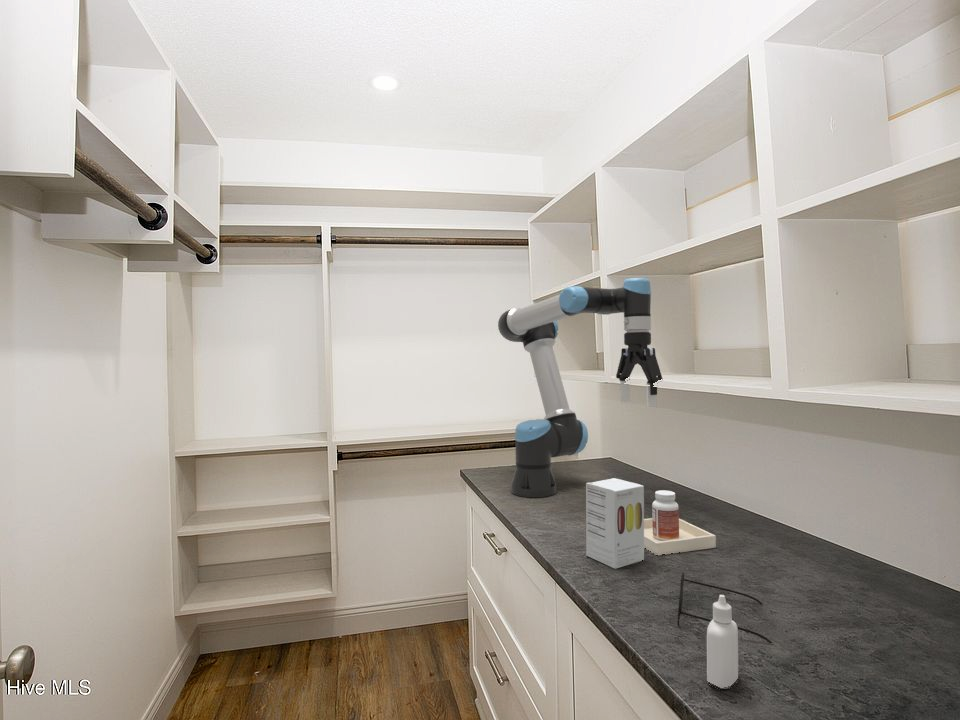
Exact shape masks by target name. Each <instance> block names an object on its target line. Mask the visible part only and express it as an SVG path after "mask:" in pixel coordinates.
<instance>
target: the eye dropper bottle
mask: <svg viewBox="0 0 960 720" xmlns="http://www.w3.org/2000/svg"><path fill="white" fill-rule="evenodd" d="M732 613H733V609H732V606H731V605H730V604H729V603H728V602H727V599H726V596H725V595H724V594H719V596H718V600H717V601H715V602H713V603H712V619H711V620H712V621H711V622H709V624H708V626H707V629H706V681H708V682H710V683H712V684H714V685H716V686H718V687H720V688H724V687H728V686H731V685H732V684H733V683H734V682H735V681H736V680H737V679H739V633H738V632H739V629H738V627H739V626H738V625H737V623H736V622H735V621H734V620H733V619H732V618H733V617H732V616H733V614H732ZM737 681H738V680H737ZM708 682H707V683H708Z"/></svg>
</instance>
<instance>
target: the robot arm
mask: <svg viewBox="0 0 960 720" xmlns="http://www.w3.org/2000/svg"><path fill="white" fill-rule="evenodd" d="M651 299H652V291H651V281H650V280H649V279H648V278H646V277H631V278H627V279H624V281H623V285H622V287H617V288H603V287H602V288H600V287H585V286H580V285H579V286H577V285H575V286H574V285H573V286H567V287H565V288H563V290H562V291H560V294H557V295H554V296H551V297H549V298H547V299H544V300H542V301H541V300H540V301H538V302H535V303H533V304H530V305H527V306H524V307H523V308H520V307H514V308H511V309H508V310H506V311H504V312H503V313H501V315H500V316H499V319H498V321H497V322H498V323H497V328H498V331H499V334H500V335H501V336H502V338H504V339H505V340H507V341H509V342H513V343H522V345H523V349H524V351H526V352H527V353H529V355H530V359H531V362H532V367H533V369H534V370H533V371H534V375H535V378H536V383H537V387H538V391H539V394H540V398H541V402H542V405H543V409H544V413H545V416H544V418H543V419H541V418H537V419H530V420H529V419H528V420H526V421H525V420H524V421H522V422H520V423H518V424H517V425H516V426H515V434H514V435H515V436H514V440H515V470H514V473H513V476H512V480H511V484H510V493H511V494H513V495H516V496H519V497H522V498H523V497H524V498H545V497H551V496H554V495H555V494H556V493H557V489H558V488H557V483H556V479H555V476H554V474H553V471H552V463H551V461H552V458H558V457H564V456H565V457H566V456H572V455H576V454H579V453H581V452H582V451H584V450H585V448H586V446H587V443H588V440H589V431H588V428H587V425H586V424H585V423H584V422H583V421H582V420H580V419H578V418H577V415H576V412H574V411H573V410H571V409H570V406H569V403H568V399H567V395H566V391H565V387H564V385H563V380H562V376H561V372H560V369H559V365H558V363H557V359H556V355H555V351H554V348H553V346H555V343H556V338H557V337H558V334H559V333H558V331H559V325H558V321H560V320H563V319H568V318H570V317H574V316H577V315H579V314H597V315H603V316H604V315H606V316H607V315H611V314H621V313H623V319H624V320H623V324H624V325H623V330H624V331H625V332H624V334H623V343H624V345H625V346H627V348H625V347H624V348H621V352H620V353H621V354H620V360H619V363H618V367H617V371H616V374H615V378H616V379H618V380H619V381H620V403H622V404H623V403H624V404H625V403H631V384H630V385H629V384H624V383H626V381H625V379H626V378H628V377H629V378H630V377H631V374H632V372H633V370H634V368H635V366H636V365H639V366H640V367H641V370H642V371H643V375H644V376H645V378H646V380H647V382H646V408H653V407H655V408H657V407H658V401H657V400H658V399H657V397H658V396H657V395H658V386H657V387H653V386H654V385H653V383H655V382H657V381H658V380H661V379H662V380H663V376H662V375H663V374H662V373H661V369H660V366H659V363H658V359H657V355H656V349H655V348H654V347H648V346H651V344H652V333H651V330H652V317H651V316H652V314H651V301H652V300H651ZM647 385H650V386H647Z"/></svg>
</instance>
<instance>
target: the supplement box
mask: <svg viewBox="0 0 960 720" xmlns="http://www.w3.org/2000/svg"><path fill="white" fill-rule="evenodd" d="M644 494H645V487H644V485H642V484H639V483H636V482H632V481H627V480H623V479H620V478H615V477H612V478H609V479H608V478H607V479H603V480H597V481H592V482H586V483H585V512H586V513H585V517H586V518H585V520H586V521H585V522H586V523H585V531H586V532H585V533H586V534H585V536H586V537H585V539H586V541H585V542H586V543H585V544H586V545H585V548H586V550H585V552H586V554H585V555H586V557H589V558H590V559H593V560H595V561H597V562H599V563H601V564H604V565H606V566H608V567H610V568H612V569H615V570H616V569H620V568H623V567H626V566H629V565H632V564H636V563H639V562H642V560H643V561H644V560H645V548H644V519H645V495H644Z"/></svg>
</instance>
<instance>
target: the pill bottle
mask: <svg viewBox="0 0 960 720" xmlns="http://www.w3.org/2000/svg"><path fill="white" fill-rule="evenodd" d="M654 493H655V494H654V498H655V499H654V500H653V502H652V504H651V509H652V511H651V512H652V517H651V518H652V521H653V536H654V538H656V539H658V540H662V541H668V540H675V539H678V538H679V519H680V513H679V512H680V509H679V504H678V503H677V502H676V501H675V500H676V493H675V492H674V491H672V490H665V489H664V490H663V489H662V490H661V489H660V490H656V491H655V492H654Z"/></svg>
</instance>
